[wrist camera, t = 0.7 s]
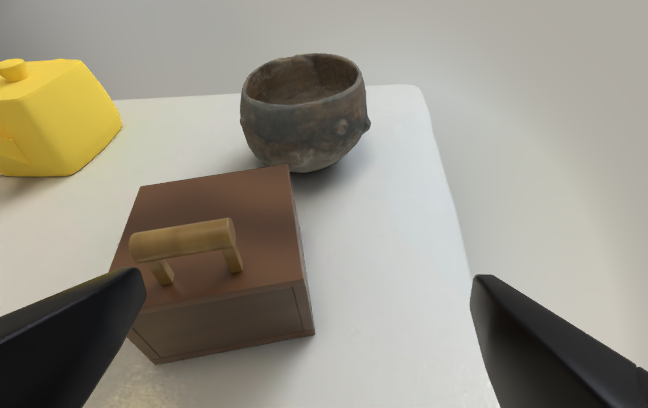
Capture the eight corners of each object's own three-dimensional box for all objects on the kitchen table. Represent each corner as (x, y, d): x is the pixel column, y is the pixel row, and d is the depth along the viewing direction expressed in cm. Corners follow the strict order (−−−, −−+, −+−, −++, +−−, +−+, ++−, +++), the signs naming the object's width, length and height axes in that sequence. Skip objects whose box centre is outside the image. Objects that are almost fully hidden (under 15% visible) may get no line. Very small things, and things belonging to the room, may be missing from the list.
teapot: (55, 202, 39) (-26, 106, 30) (-40, 201, 40) (-141, 109, 32) (140, 114, 53) (100, 33, 45) (68, 116, 54) (17, 38, 46)
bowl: (350, 117, 48) (349, 41, 41) (385, 185, 37) (391, 98, 30) (251, 133, 46) (232, 58, 40) (255, 209, 35) (230, 123, 28)
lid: (305, 285, 20) (295, 233, 17) (97, 322, 19) (47, 275, 16) (288, 169, 28) (280, 120, 25) (143, 191, 27) (116, 144, 24)
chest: (315, 334, 25) (304, 276, 20) (154, 365, 24) (101, 313, 19) (299, 230, 33) (288, 169, 28) (177, 250, 32) (143, 192, 27)
